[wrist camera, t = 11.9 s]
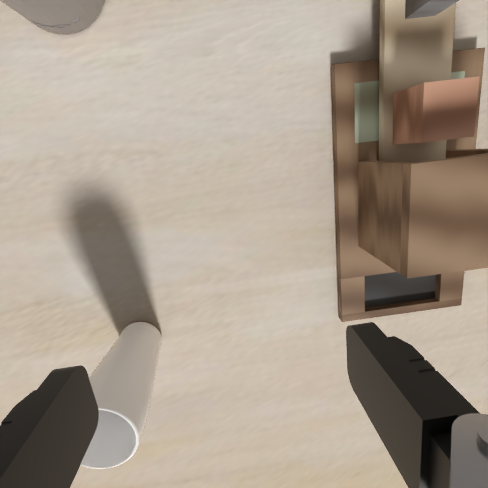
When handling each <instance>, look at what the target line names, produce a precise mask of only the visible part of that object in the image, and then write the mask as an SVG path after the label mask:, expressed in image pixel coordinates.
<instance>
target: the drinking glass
mask: <svg viewBox="0 0 488 488" xmlns="http://www.w3.org/2000/svg"><path fill="white" fill-rule="evenodd" d="M161 346H162V337H161V334H160V332H159V330H158V329H157V328H156V327H155V326H153V325H151V324H149V323H146V322H135V323H132V324H130V325H128V326H126V327H125V328H124V329H123V331H122V332H121V334H120V335H119V337H118V339H117V340H116V342H115V343H114V344H113V346H112V347H111V348H110V350H109V351H108V353H107V354H106V355H105V357H104V358H103V359H102V361H101V362H100V363H99V365H98V366H97V367H96V369H95V370H94V371H93V373H92V374H91V375H90V377H89V380H90V383H91V386H92V390H93V393H94V396H95V399H96V402H97V405H98V410H99V419H98V425H97V429H96V431H95V433H94V436H93V438H92V440H91V442H90V444H89V447H88V449H87V451H86V453H85V455H84V458H83V460H82V462H81V464H80V465H81V466H84V467H88V468H93V469H106V468H112V467H115V466H118V465H120V464H122V463H124V462H126V461H127V460H128V459H130V458H131V457H132V455H133V454H134V453H135V451H136V450H137V447H138V445H139V442H140V439H141V436H142V433H143V430H144V427H145V424H146V420H147V416H148V413H149V408H150V404H151V398H152V392H153V386H154V380H155V375H156V369H157V363H158V358H159V353H160V349H161Z"/></svg>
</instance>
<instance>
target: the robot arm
mask: <svg viewBox="0 0 488 488" xmlns="http://www.w3.org/2000/svg"><path fill="white" fill-rule="evenodd" d="M0 1H2V2H3V3H5V4H6V5H8V6H9V7H10V8H12V9H13V10H15V11H16V12H18V13H19V14H21V15H22V16H23V17H25V18H26V19H28V20H29V21H31V22H32V23H33V24H35V25H36V26H38V27H40V28H42V29H44V30H46V31H48V32H52V33H56V34H72V33H77V32H80V31H82V30H84V29H86V28H87V27H89V26H90V25H91V24H92V23H93V22H94V21H95V20H96V18H97V17H98V15H99V14H100V12H101V10H102V7H103V5H104V2H105V0H0ZM346 341H347V368H348V375H349V379H350V382H351V385H352V388H353V390H354V392H355V394H356V395H357V397H358V399H359V401H360V402H361V404H362V406H363V408H364V410H365V411H366V413H367V415H368V417H369V418H370V420H371V422H372V424H373V425H374V427H375V429H376V431H377V433H378V434H379V436H380V438H381V440H382V441H383V443H384V445H385V447H386V448H387V450H388V452H389V454H390V456H391V457H392V459H393V461H394V463H395V464H396V466H397V468H398V470H399V472H400V473H401V475H402V477H403V479H404V480H405V482H406V484H407V486H408V487H409V488H488V415H486V414H480V413H479V412H478V411H477V410H476V409H475V408H474V407H473V406H472V405H471V404H470V403H469V402H468V401H467V400H466V399H465V398H464V397H463V396H462V395H461V394H460V393H459V392H458V391H457V390H456V389H455V388H454V387H453V386H452V385H451V384H450V383H449V382H448V381H447V380H446V379H445V378H444V377H443V376H442V375H441V374H440V373H439V372H438V371H435V368H434V367H433V366H432V365H431V364H430V363H429V362H428V361H427V360H424V357H423V356H422V355H421V354H420V353H419V352H418V351H417V350H416V349H415V348H414V347H413V346H412V345H410V344H408V343H406V342H404V341H402V340H401V339H399V338H397V337H395V336H393V337H387V336H386V335H385V334H384V333H383V332H382V331H381V330H380V329H379V328H378V327H377V325H376V324H374V323H373V322H370V323H364V324H357V325H351V326H348V327H347V329H346ZM98 419H99V410H98V405H97V402H96V399H95V396H94V393H93V390H92V386H91V383H90V380H89V377H88V374H87V371H86V369H85V368H84V367H83V366H74V367H68V368H61V369H55V370H53V371H52V372H51V373H50V374H49V375H48V376H47V378H46V379H45V380H44V382H43V383H42V384H41V385H40V387H39V388H38V389H37V390H35V391H33V392H32V393H30V394H29V395H28V396H27V397H25V398H24V399H23V400H22V401H21V402H19V403H18V404H17V405H16V406H15V407H14V408H13V409H12V410H11V411H10V413H9V414H8V415H7V416H6V418H5V419H4V420H3V421H2V422H1V423H2V424H1V426H0V488H70V486H71V484H72V482H73V480H74V477H75V475H76V473H77V471H78V469H79V466H80V464H81V462H82V460H83V458H84V455H85V453H86V451H87V449H88V447H89V444H90V442H91V440H92V438H93V436H94V433H95V431H96V429H97V425H98Z"/></svg>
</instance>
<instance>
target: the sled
mask: <svg viewBox="0 0 488 488" xmlns="http://www.w3.org/2000/svg"><path fill="white" fill-rule="evenodd" d="M457 1H459V0H380V56H379V161H402V162H421V161H429V160H437V159H445V158H446V143H447V140H449V139H457V138H465V137H474V134H475V123H476V111H477V100H478V89H479V78H480V76H478V77H470V78H461V79H452V80H451V68H452V53H453V38H454V23H455V8H456V2H457Z"/></svg>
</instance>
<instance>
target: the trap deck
mask: <svg viewBox="0 0 488 488" xmlns="http://www.w3.org/2000/svg"><path fill="white" fill-rule="evenodd" d="M484 51H485V48H477V49H468V50H459V51H453V53H452V68H451V80H452V79H461V78H470V77H478V76H480V78H479V89H478V100H477V111H476V123H475V134H474V137H465V138H457V139H449V140H447V143H446V158H445V159H437V160H429V161H421V162H402V161H379V59H378V60H369V61H359V62H350V63H341V64H335V65H333V66H332V67H331V87H332V118H333V150H334V181H335V213H336V244H337V276H338V307H339V318H340V320H341V321H342V322H345V321H352V320H359V319H366V318H373V317H380V316H387V315H394V314H402V313H409V312H416V311H423V310H430V309H437V308H444V307H451V306H458V305H461V301H462V290H463V279H464V271H466V270H473V269H480V268H488V149H476V138H477V127H478V116H479V105H480V94H481V84H482V73H483V62H484Z"/></svg>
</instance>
